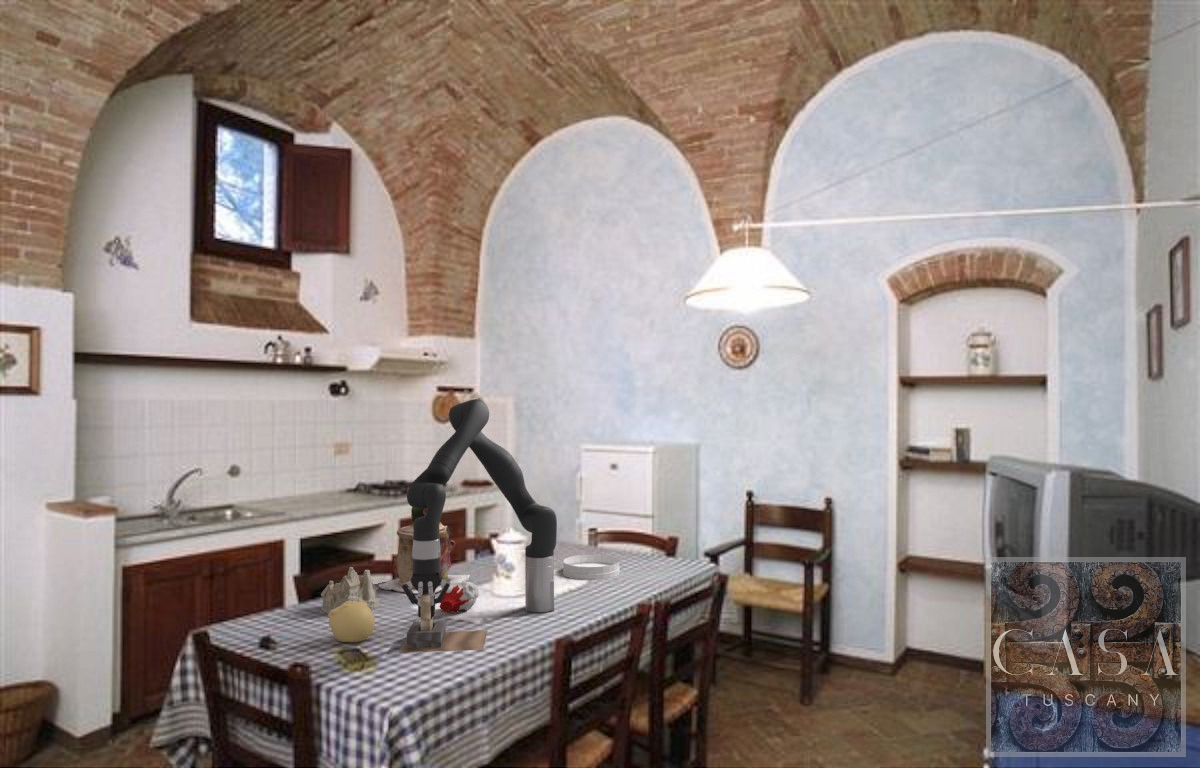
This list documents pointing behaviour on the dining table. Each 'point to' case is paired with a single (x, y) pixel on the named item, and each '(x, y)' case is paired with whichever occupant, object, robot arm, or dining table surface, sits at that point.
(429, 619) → the beige rectangular bar
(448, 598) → the red-white knobbly ovoid
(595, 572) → the dish
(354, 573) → the ceramic cottage
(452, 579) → the cookie jar
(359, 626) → the cream sphere
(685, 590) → the dining table surface
